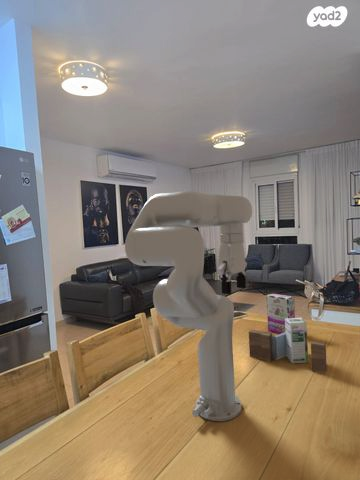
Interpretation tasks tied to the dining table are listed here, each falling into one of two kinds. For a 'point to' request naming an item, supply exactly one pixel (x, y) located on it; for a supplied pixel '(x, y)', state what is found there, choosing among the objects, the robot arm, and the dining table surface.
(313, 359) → the door frame
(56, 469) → the dining table surface
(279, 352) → the door
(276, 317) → the candy bar box
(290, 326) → the syrup box
